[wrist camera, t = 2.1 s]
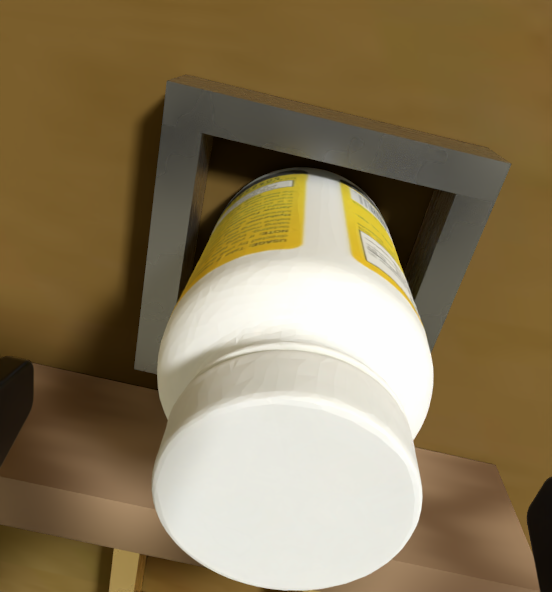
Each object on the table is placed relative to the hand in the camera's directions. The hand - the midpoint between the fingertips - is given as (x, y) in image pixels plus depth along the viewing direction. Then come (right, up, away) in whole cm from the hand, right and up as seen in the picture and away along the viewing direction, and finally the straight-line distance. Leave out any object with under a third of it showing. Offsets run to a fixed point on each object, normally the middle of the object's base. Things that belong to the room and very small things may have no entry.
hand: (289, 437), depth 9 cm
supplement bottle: (+1, +4, +8) cm, 9 cm away
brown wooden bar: (-1, -3, +11) cm, 11 cm away
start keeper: (+1, +4, +7) cm, 8 cm away
